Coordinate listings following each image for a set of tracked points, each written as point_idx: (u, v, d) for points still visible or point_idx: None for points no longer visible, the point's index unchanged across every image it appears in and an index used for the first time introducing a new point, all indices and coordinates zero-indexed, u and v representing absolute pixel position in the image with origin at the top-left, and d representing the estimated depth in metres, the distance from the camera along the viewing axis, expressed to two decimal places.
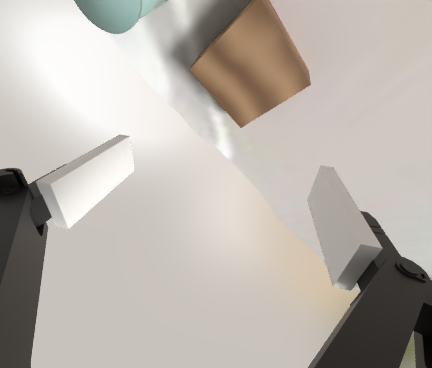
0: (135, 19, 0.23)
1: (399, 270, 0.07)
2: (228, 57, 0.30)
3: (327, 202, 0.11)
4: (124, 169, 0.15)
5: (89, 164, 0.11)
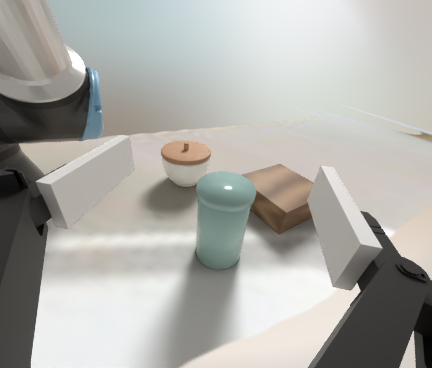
0: (245, 178, 0.29)
1: (399, 270, 0.07)
2: (271, 190, 0.40)
3: (327, 202, 0.11)
4: (124, 169, 0.15)
5: (89, 164, 0.11)
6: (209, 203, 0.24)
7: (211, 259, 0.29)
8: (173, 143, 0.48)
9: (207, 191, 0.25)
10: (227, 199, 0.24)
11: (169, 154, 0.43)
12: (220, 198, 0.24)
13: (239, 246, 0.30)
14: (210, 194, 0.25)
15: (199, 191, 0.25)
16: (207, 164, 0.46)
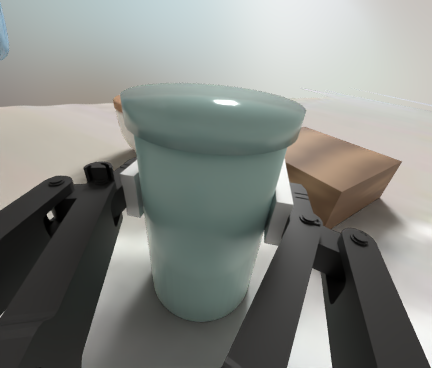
0: None
1: (302, 221, 0.09)
2: (300, 157, 0.22)
3: None
4: None
5: None
6: (148, 124, 0.07)
7: (181, 300, 0.12)
8: None
9: (151, 98, 0.08)
10: (214, 112, 0.07)
11: None
12: (190, 109, 0.07)
13: (250, 266, 0.12)
14: (159, 102, 0.07)
15: (124, 97, 0.08)
16: None
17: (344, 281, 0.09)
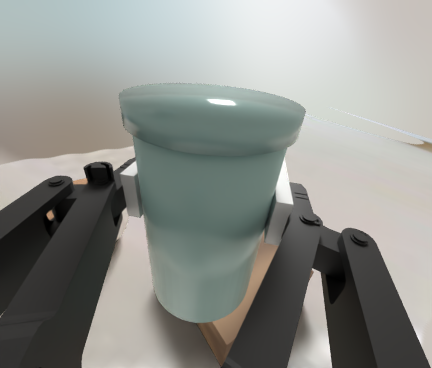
0: (266, 94, 0.11)
1: (302, 221, 0.09)
2: None
3: None
4: None
5: None
6: (146, 124, 0.07)
7: (180, 301, 0.12)
8: None
9: (150, 98, 0.08)
10: (214, 113, 0.07)
11: None
12: (188, 110, 0.07)
13: (249, 267, 0.12)
14: (158, 102, 0.07)
15: (123, 97, 0.08)
16: None
17: (345, 281, 0.09)
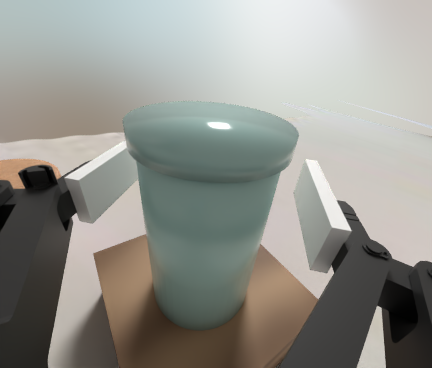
0: None
1: (365, 250, 0.08)
2: (154, 312, 0.14)
3: (308, 192, 0.12)
4: None
5: (111, 161, 0.12)
6: (149, 153, 0.07)
7: (180, 310, 0.12)
8: None
9: (152, 124, 0.08)
10: (212, 141, 0.07)
11: None
12: (188, 138, 0.07)
13: (247, 278, 0.12)
14: (159, 130, 0.08)
15: (126, 123, 0.08)
16: None
17: (412, 321, 0.08)
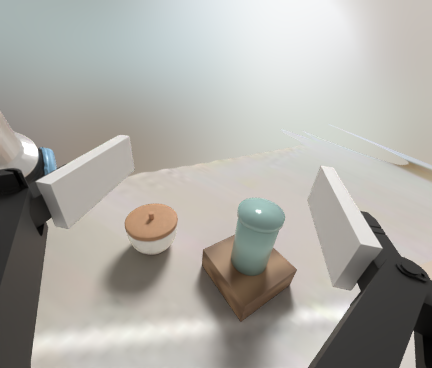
0: (274, 203, 0.37)
1: (399, 270, 0.07)
2: (234, 270, 0.39)
3: (327, 202, 0.11)
4: (124, 169, 0.15)
5: (89, 164, 0.11)
6: (250, 226, 0.32)
7: (246, 267, 0.37)
8: (139, 210, 0.46)
9: (247, 216, 0.33)
10: (264, 223, 0.32)
11: (132, 228, 0.42)
12: (259, 222, 0.32)
13: (268, 257, 0.37)
14: (251, 219, 0.33)
15: (241, 216, 0.33)
16: (173, 234, 0.44)
17: None
